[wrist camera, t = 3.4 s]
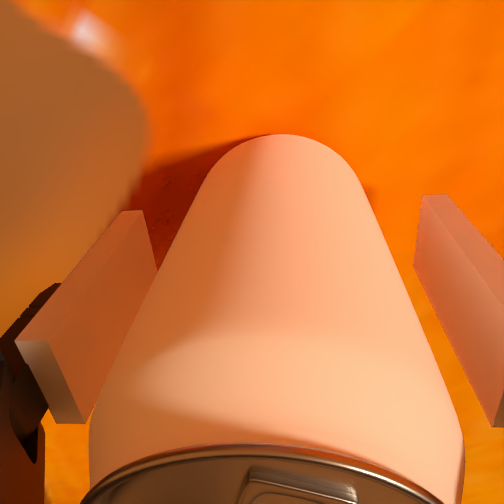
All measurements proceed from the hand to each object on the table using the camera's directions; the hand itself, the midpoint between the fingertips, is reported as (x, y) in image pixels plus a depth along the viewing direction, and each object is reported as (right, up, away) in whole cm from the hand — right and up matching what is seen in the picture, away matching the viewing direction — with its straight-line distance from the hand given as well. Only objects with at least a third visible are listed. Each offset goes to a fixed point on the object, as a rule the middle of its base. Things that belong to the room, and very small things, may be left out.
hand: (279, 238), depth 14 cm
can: (0, +1, +2) cm, 2 cm away
